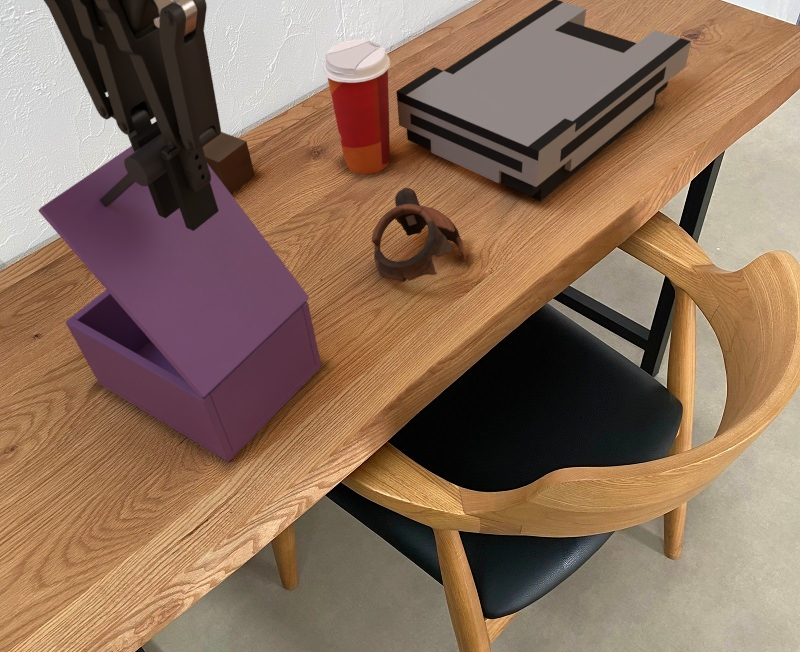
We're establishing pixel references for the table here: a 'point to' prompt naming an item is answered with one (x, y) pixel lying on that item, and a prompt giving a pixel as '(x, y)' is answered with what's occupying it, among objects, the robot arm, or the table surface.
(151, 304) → the purple box lid
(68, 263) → the table surface
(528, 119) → the game console
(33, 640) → the table surface
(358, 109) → the paper cup
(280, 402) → the file box
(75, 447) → the table surface
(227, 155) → the block
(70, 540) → the table surface
